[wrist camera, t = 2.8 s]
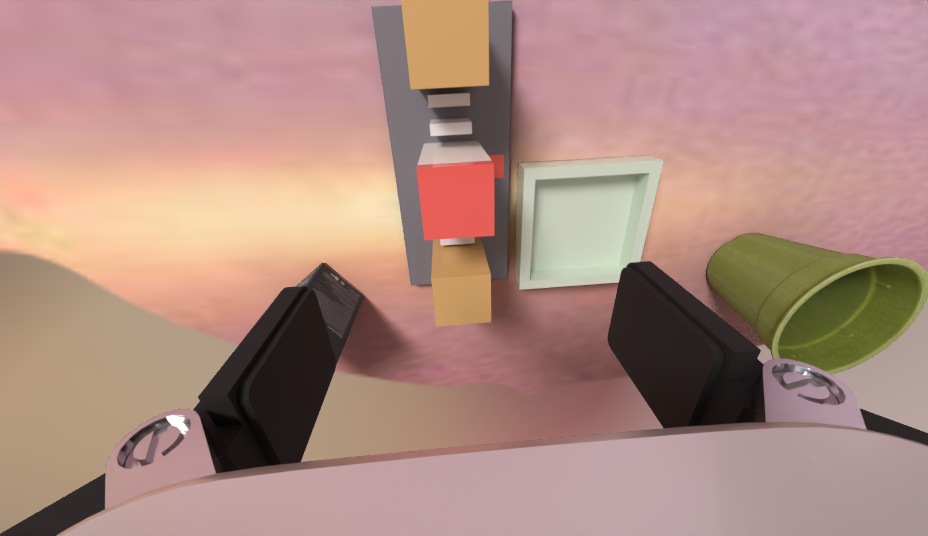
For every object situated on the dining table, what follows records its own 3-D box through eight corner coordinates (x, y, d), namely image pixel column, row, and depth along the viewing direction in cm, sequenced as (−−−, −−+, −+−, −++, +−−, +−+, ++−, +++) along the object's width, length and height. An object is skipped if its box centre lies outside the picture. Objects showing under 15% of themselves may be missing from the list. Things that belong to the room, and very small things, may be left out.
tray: (647, 155, 30) (663, 160, 28) (623, 269, 36) (635, 281, 34) (518, 163, 30) (524, 168, 28) (514, 277, 36) (519, 289, 34)
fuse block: (509, 3, 25) (542, -37, 17) (505, 274, 35) (524, 327, 28) (373, 10, 24) (341, -29, 16) (411, 280, 35) (403, 336, 27)
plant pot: (784, 290, 39) (901, 358, 29) (682, 316, 40) (762, 390, 30) (806, 195, 33) (960, 240, 23) (687, 227, 34) (787, 284, 24)
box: (323, 259, 33) (277, 325, 24) (365, 294, 36) (339, 367, 26) (274, 303, 35) (215, 379, 26) (317, 333, 38) (277, 413, 28)
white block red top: (477, 140, 28) (494, 163, 19) (478, 193, 30) (494, 235, 21) (424, 143, 28) (416, 168, 19) (429, 196, 30) (424, 240, 21)
